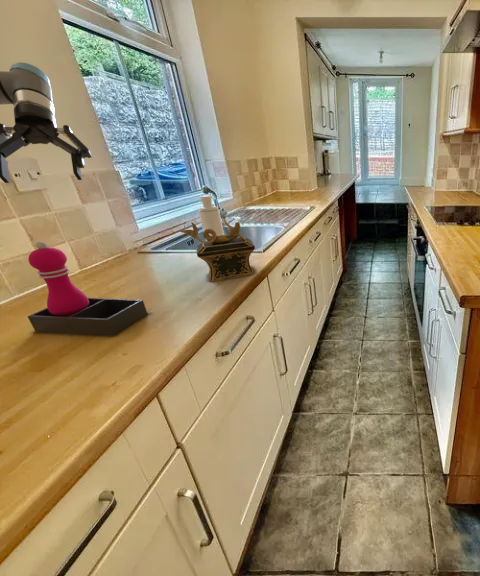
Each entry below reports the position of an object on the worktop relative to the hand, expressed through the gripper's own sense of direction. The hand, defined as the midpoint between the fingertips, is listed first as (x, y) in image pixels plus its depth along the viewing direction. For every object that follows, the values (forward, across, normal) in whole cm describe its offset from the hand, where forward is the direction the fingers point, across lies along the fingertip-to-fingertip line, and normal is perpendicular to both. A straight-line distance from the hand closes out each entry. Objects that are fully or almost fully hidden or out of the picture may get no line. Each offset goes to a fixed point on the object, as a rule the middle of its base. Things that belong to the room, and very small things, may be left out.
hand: (42, 177), depth 80 cm
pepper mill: (+36, 0, -10) cm, 37 cm away
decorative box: (+26, -36, -20) cm, 49 cm away
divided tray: (+38, -4, -8) cm, 39 cm away
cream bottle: (+10, -36, -36) cm, 52 cm away
